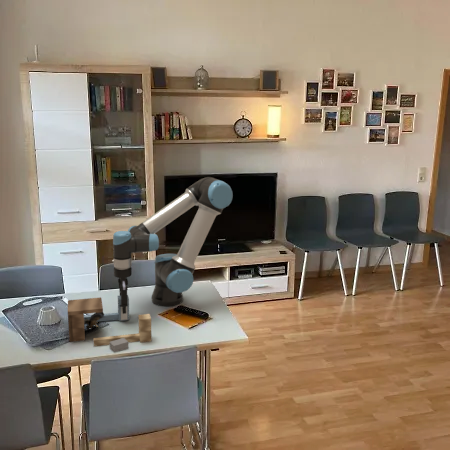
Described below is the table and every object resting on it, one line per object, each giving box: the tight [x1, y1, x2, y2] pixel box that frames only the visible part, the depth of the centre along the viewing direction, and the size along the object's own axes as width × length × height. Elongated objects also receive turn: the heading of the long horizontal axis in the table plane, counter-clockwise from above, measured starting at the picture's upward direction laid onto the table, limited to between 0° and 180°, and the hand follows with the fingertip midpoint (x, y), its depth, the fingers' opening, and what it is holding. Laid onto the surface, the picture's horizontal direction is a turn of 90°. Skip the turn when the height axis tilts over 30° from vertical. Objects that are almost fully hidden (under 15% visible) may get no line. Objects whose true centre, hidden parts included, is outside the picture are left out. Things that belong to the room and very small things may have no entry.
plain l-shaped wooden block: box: [93, 313, 152, 347], centre depth 198 cm, size 22×4×10 cm, turn 107°
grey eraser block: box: [109, 338, 129, 353], centre depth 194 cm, size 6×4×3 cm, turn 127°
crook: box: [84, 294, 130, 323], centre depth 212 cm, size 22×12×10 cm, turn 106°
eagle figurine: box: [84, 311, 105, 329], centre depth 211 cm, size 8×7×9 cm
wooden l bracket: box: [67, 296, 104, 343], centre depth 204 cm, size 14×12×13 cm
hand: (123, 316), depth 219 cm, fingers closed on crook, 4 cm apart
